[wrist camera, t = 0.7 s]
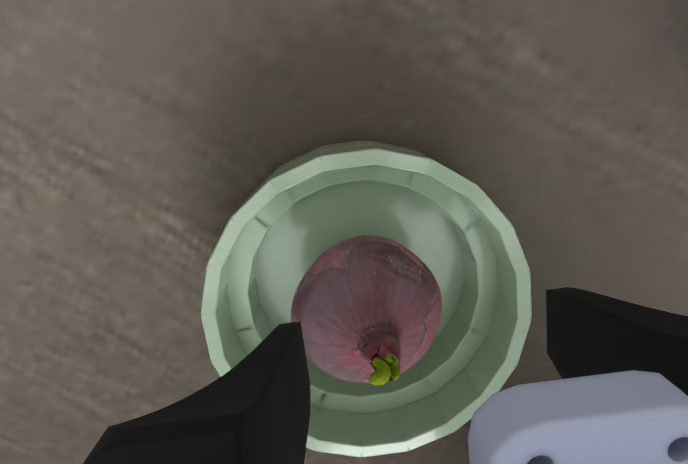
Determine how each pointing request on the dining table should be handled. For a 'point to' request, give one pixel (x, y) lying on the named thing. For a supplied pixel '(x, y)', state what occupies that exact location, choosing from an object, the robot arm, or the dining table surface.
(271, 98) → the dining table surface
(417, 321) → the vegetable
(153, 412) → the robot arm
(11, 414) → the dining table surface
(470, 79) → the dining table surface
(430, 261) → the bowl
